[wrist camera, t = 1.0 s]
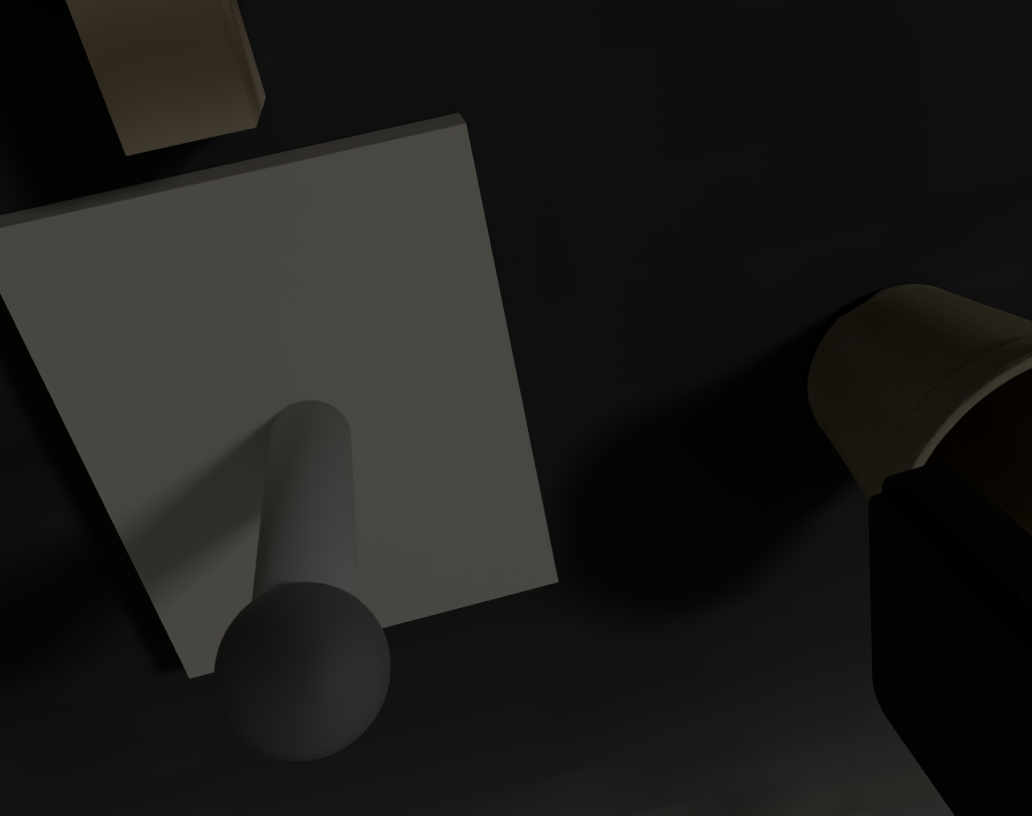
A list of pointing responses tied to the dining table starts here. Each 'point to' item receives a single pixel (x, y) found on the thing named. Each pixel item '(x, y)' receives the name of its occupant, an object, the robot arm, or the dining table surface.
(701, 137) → the dining table surface
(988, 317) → the flower pot
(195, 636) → the post stand
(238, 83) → the birch loop
